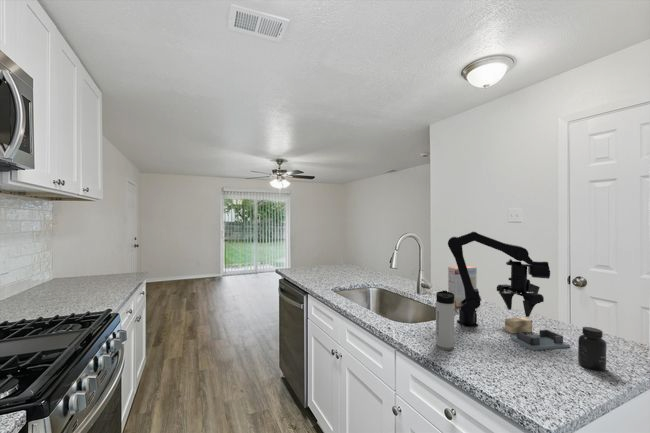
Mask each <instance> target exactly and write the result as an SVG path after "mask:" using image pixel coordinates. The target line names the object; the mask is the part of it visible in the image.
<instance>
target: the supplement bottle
mask: <svg viewBox="0 0 650 433" xmlns="http://www.w3.org/2000/svg"><path fill="white" fill-rule="evenodd" d="M603 333H604V332H603V330H602V329H599V328H595V327H591V326H584V327H583V326H582V334H580V335H578V339H577V340H578V341H577V342H578V344H577V346H578V347H577V362H578V364H579V365H580V366H582V367H584V368H586V369H587V370H592V371H597V372H605V370H606V369H607V348H608V346H607V345H608V344H607V342H606V341H605V340H604V339H603Z"/></svg>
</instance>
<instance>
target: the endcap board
mask: <svg viewBox="0 0 650 433" xmlns="http://www.w3.org/2000/svg"><path fill="white" fill-rule="evenodd" d="M510 339H511V341H514V342H516V343H518V344H520V345H522V346H523V347H525V348H527V349H529V350H532V351H542V350H553V349H554V350H555V349H556V350H557V349H566V348H570V347H571V344H570V343H567V342H566V341H564V336H563V335H561V334H558V333H556V332H554V331H551V330H549V329H540V330H539V334H528V335H527V332H525V331H520V332H517V333H516V335H515V336H511V337H510Z"/></svg>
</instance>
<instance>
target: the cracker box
mask: <svg viewBox="0 0 650 433" xmlns="http://www.w3.org/2000/svg"><path fill="white" fill-rule="evenodd" d="M466 266H467V270H468V273H469V276H470V279H471V282H472V285H473V287H474V289H477V284H478V283H477V282H478V281H477V279H478V278H477V274H478V272H477V270H478V269H477V267H475V266H471V265H466ZM447 270H448V271H447V272H448V275H447V278H448V280H447V283H448V284H447V286H448V290H447V292H451V293H453V294H454V309H458V308H459V309H460V308H461V301H463V300H464V299H465V290H464V286H463V282H462V279H461V276H460V273H459V270H458V266H449V267H447Z"/></svg>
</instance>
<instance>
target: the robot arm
mask: <svg viewBox="0 0 650 433" xmlns="http://www.w3.org/2000/svg"><path fill="white" fill-rule="evenodd" d="M473 242H477V243H479V244H480V245H481V244H482V245H484V246H487V247H490V248H491V249H495V250H496V251H500V252H502V253H503V254H506V255H507V256H509V257H510V259H509V260H508V261H506V262H505V264H506V265H507V266H510V277H508V281H510V284H498V285H497V286H496V292H498V294H499V295H500V296H501V298H502V301H503V302H504V304H505V306H506V307H507V308H506V309H508V311H511V310H512V306H513V305H512V304H513V297H514V296H515V295H517V296H519V297H522V298H523V300H522V304H523V310H524V315H525V318H529V317H530V316H531V314H532V312H533V309H534V308H535V306H536V305H537V304H542V303H544V301H545V300H544V295H543V294H541V293H539V291H540V288H541V287H540V286H538V285H535V284H533V283H531V281H530V279H528V275H529V276H530V275H531V278H536V279H550V276H551V270H550V266H549V261H537V260H536V261H534V260H533V259H531V257H530V256H529V251H528V250H527V248H525V247H523V246H520V245H515V244H509V243H505V242H502V241H499V240H496V239H495V238H491V237H489V236H486V235H483V234H481V233H478V232H477V231H471V232H469V233H467V234H464V235H460V236H452V237H450V238H449V239H448V241H447V246H448V248H449V250H450V252H451V253H452V255H453V258H454V260H455V263H456V267H458V270H459V273H460V276H461V279H462V282H463V286H464V290H465V299H464V300H463V301H461V307H460V308H459V314H458V319H457V320H456V322H457V323H459V324H460V325H462V326H464V327H475V326H479V324H478V323H477V321H478V320H477V319H478V314H477V310H476V309H478V308H479V307H481V302H482V297H481V295H480V292H479V289H478V288H477V289H474V287H473V285H472V282H471V279H470V276H469V273H468V270H467V266H468V265H467V264H466V260H465V257H464V250H463V246H465V245H467V244H470V243H473ZM511 258H512V259H513V260H512V259H511ZM522 262H523V263H522Z"/></svg>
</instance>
